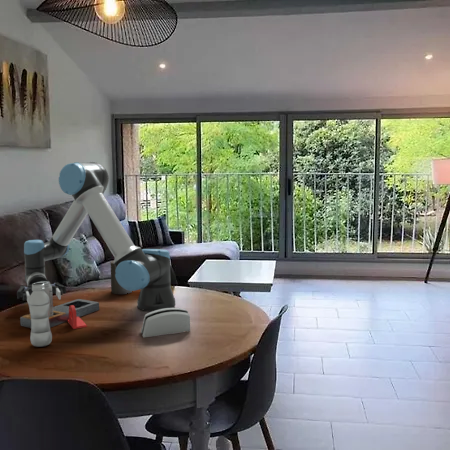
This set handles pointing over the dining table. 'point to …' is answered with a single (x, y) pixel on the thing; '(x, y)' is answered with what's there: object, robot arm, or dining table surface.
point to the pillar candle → (114, 284)
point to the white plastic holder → (165, 322)
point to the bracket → (75, 319)
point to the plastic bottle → (39, 316)
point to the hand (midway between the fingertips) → (44, 297)
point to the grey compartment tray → (65, 312)
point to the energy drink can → (49, 292)
